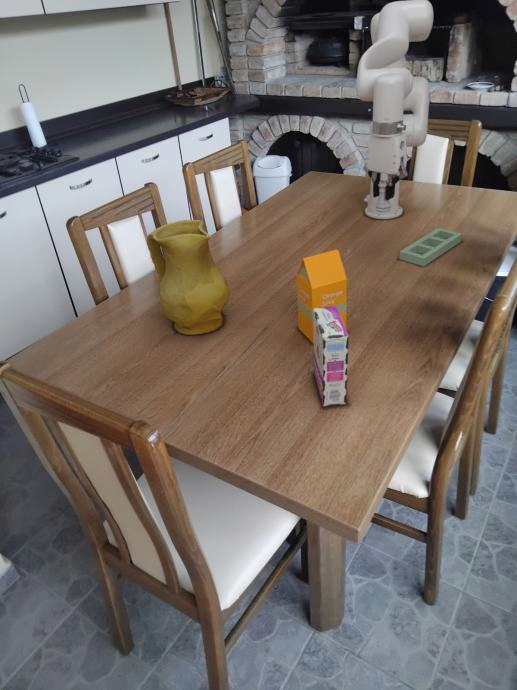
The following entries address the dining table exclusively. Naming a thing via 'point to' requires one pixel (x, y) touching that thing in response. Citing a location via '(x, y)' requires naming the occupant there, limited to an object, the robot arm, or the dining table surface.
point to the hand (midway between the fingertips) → (383, 196)
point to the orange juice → (320, 288)
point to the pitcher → (188, 277)
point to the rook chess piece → (383, 198)
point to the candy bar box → (330, 355)
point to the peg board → (430, 246)
